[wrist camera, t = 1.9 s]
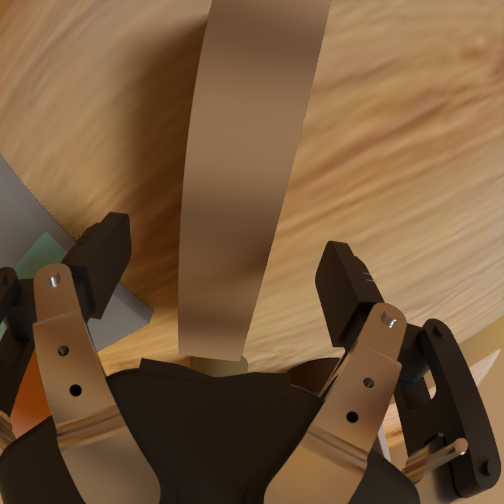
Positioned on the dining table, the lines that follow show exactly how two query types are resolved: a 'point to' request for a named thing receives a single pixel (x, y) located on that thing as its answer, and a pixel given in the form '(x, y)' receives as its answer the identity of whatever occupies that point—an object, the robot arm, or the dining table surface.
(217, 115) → the walnut bar
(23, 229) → the balance stand
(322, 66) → the dining table surface
